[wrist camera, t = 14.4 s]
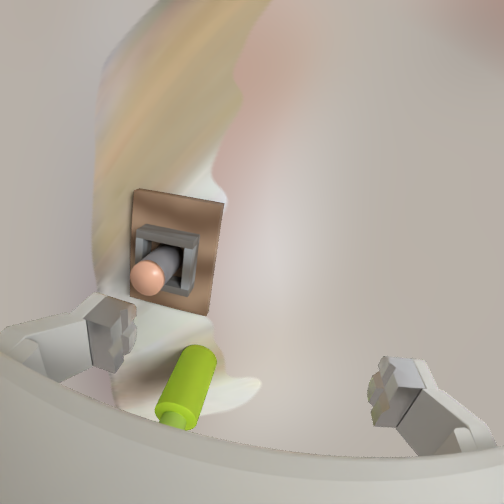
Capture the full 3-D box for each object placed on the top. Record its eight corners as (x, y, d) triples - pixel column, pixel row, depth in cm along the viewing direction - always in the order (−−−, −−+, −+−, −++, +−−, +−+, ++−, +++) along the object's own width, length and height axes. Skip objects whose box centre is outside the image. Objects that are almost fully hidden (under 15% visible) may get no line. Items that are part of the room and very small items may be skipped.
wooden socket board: (139, 188, 41) (123, 194, 36) (224, 203, 40) (216, 211, 36) (134, 292, 46) (121, 305, 42) (208, 311, 46) (200, 327, 42)
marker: (157, 238, 41) (131, 259, 34) (185, 245, 41) (163, 268, 34) (155, 265, 43) (129, 290, 35) (181, 273, 42) (160, 299, 35)
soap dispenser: (170, 352, 50) (121, 443, 31) (204, 340, 48) (161, 440, 29) (189, 377, 51) (151, 470, 32) (223, 367, 49) (192, 467, 30)
